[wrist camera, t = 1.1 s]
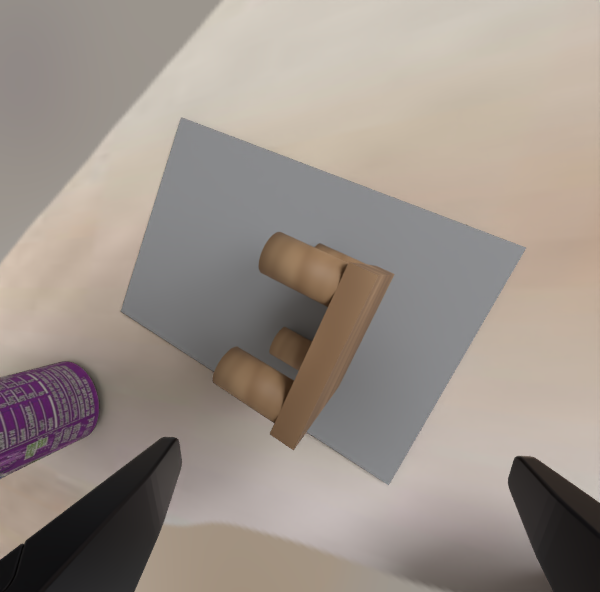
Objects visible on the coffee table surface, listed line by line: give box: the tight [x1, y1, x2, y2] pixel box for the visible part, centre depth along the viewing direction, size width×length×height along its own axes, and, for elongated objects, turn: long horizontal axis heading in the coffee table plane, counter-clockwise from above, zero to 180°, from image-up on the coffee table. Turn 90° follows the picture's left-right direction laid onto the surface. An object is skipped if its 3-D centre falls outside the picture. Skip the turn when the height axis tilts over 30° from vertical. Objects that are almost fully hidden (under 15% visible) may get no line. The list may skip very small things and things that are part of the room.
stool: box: [213, 232, 395, 450], centre depth 17 cm, size 5×8×8 cm, turn 156°
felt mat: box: [121, 117, 526, 485], centre depth 22 cm, size 24×16×1 cm, turn 66°
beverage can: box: [0, 362, 99, 479], centre depth 25 cm, size 7×7×12 cm
